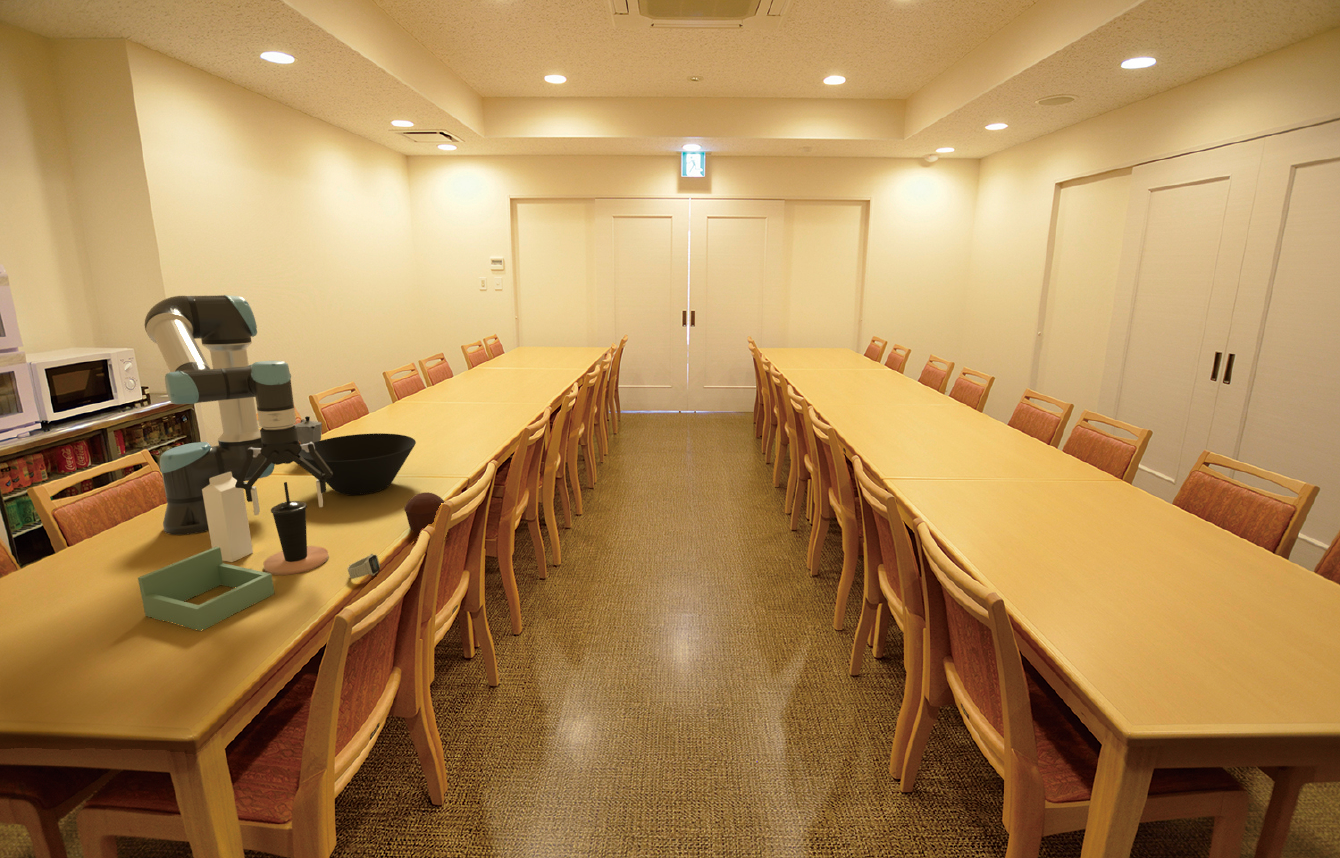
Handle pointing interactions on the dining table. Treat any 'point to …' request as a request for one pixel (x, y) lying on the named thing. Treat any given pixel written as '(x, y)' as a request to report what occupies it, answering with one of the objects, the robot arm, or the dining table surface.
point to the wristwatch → (364, 567)
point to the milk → (227, 517)
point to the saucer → (296, 562)
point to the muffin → (422, 510)
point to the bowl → (362, 460)
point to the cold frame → (201, 590)
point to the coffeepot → (309, 431)
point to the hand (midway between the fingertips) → (289, 509)
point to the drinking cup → (291, 527)
